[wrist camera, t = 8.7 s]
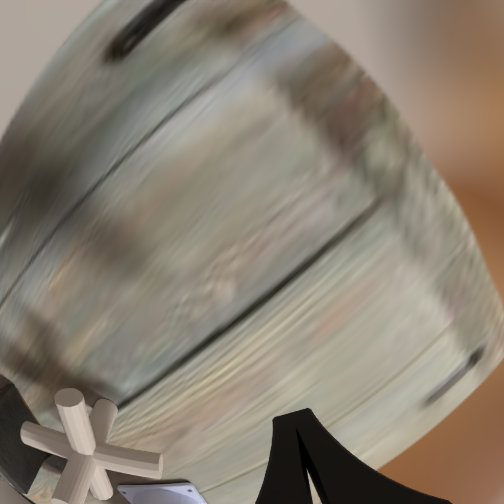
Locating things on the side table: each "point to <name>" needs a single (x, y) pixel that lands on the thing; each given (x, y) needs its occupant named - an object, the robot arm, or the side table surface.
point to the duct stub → (17, 442)
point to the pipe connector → (88, 449)
